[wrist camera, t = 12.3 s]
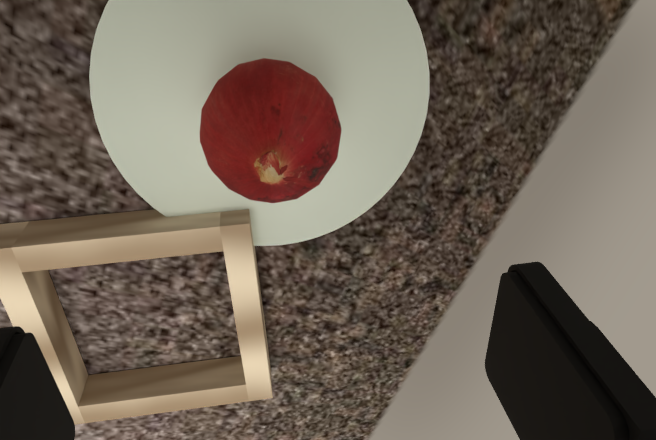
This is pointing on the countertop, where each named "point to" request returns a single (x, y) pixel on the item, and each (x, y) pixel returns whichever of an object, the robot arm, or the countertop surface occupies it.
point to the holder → (129, 245)
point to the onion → (270, 130)
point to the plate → (244, 46)
